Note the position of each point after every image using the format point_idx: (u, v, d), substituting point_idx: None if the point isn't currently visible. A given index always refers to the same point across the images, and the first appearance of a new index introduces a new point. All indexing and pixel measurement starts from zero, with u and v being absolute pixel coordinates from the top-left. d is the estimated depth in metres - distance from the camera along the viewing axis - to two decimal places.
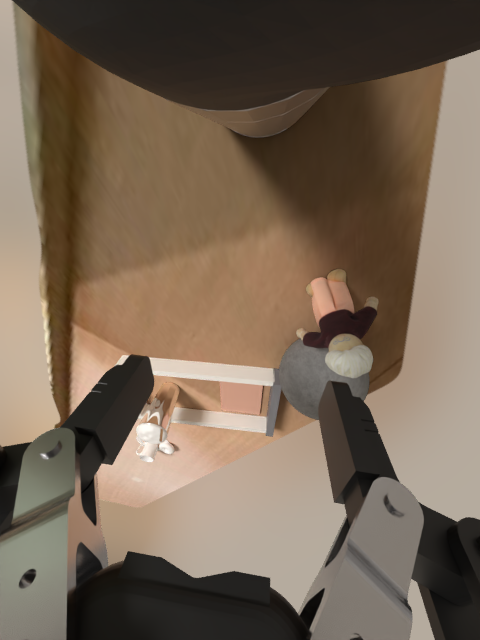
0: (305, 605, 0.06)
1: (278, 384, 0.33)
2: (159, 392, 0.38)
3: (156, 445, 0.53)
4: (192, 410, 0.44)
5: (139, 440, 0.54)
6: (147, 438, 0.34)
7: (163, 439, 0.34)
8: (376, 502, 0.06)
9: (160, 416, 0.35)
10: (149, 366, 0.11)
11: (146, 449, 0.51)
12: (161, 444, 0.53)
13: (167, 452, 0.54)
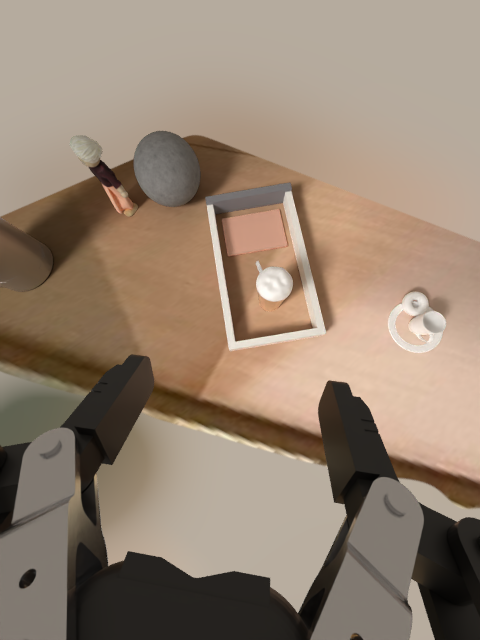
0: (305, 605, 0.06)
1: None
2: (262, 305, 0.35)
3: (413, 318, 0.35)
4: (300, 275, 0.37)
5: (422, 348, 0.35)
6: (274, 282, 0.28)
7: (276, 267, 0.29)
8: (376, 502, 0.06)
9: None
10: (149, 366, 0.11)
11: (418, 327, 0.33)
12: (407, 311, 0.35)
13: (423, 300, 0.35)
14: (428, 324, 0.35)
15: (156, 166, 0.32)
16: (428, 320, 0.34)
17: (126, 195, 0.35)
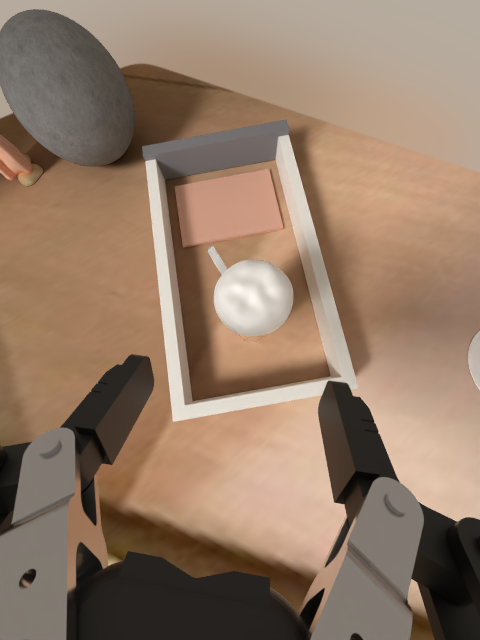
0: (305, 605, 0.06)
1: (143, 151, 0.22)
2: None
3: None
4: (306, 278, 0.22)
5: None
6: (252, 295, 0.12)
7: (256, 262, 0.13)
8: (376, 502, 0.06)
9: None
10: (149, 366, 0.11)
11: None
12: None
13: None
14: None
15: (26, 70, 0.17)
16: None
17: None
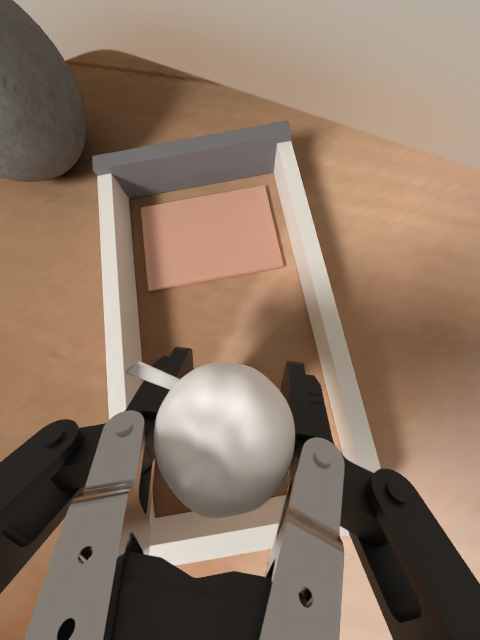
0: None
1: None
2: None
3: None
4: (315, 337, 0.16)
5: None
6: (215, 450, 0.07)
7: (228, 373, 0.07)
8: (307, 462, 0.07)
9: None
10: (191, 358, 0.11)
11: None
12: None
13: None
14: None
15: None
16: None
17: None
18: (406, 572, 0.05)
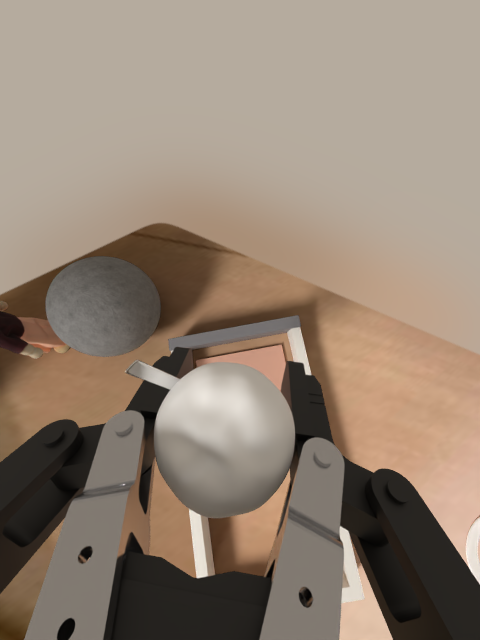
0: None
1: (169, 343, 0.25)
2: None
3: None
4: None
5: None
6: (215, 450, 0.07)
7: (228, 372, 0.07)
8: (307, 462, 0.07)
9: None
10: (191, 358, 0.11)
11: None
12: None
13: None
14: None
15: (75, 329, 0.19)
16: None
17: (38, 355, 0.22)
18: (406, 572, 0.05)
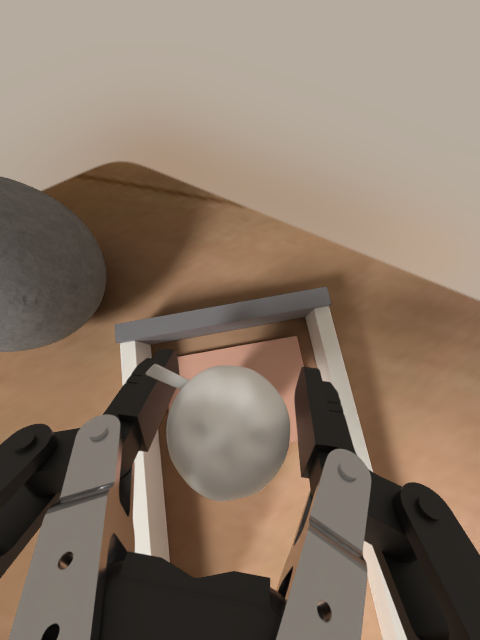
0: (279, 586, 0.06)
1: None
2: None
3: None
4: None
5: None
6: (221, 442, 0.08)
7: (232, 374, 0.09)
8: (331, 473, 0.07)
9: None
10: (176, 360, 0.11)
11: None
12: None
13: None
14: None
15: None
16: None
17: None
18: (434, 591, 0.05)
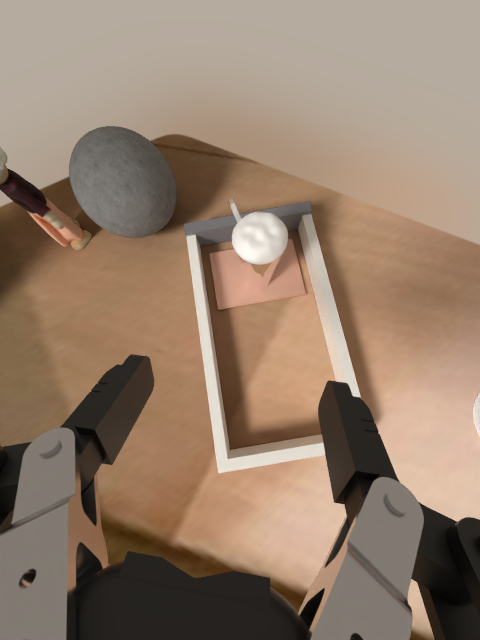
0: (305, 605, 0.06)
1: None
2: (245, 279, 0.25)
3: None
4: (327, 340, 0.25)
5: None
6: (259, 233, 0.18)
7: (262, 212, 0.19)
8: (376, 502, 0.06)
9: None
10: (149, 366, 0.11)
11: None
12: None
13: None
14: None
15: (99, 182, 0.20)
16: None
17: (60, 225, 0.23)
18: None
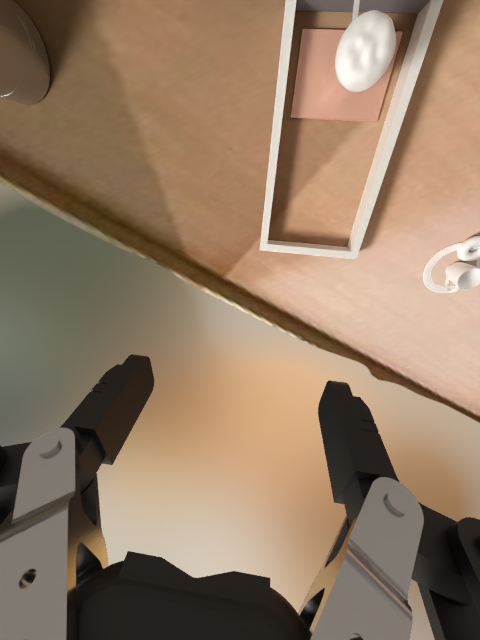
0: (305, 605, 0.06)
1: None
2: (329, 89, 0.25)
3: (458, 263, 0.34)
4: (368, 177, 0.30)
5: (441, 289, 0.37)
6: (366, 52, 0.19)
7: (382, 15, 0.18)
8: (376, 502, 0.06)
9: None
10: (149, 366, 0.11)
11: (452, 276, 0.34)
12: (459, 254, 0.33)
13: None
14: (467, 272, 0.35)
15: None
16: (469, 270, 0.34)
17: None
18: None
